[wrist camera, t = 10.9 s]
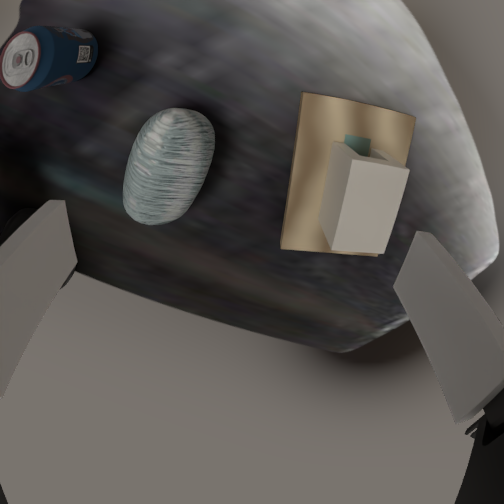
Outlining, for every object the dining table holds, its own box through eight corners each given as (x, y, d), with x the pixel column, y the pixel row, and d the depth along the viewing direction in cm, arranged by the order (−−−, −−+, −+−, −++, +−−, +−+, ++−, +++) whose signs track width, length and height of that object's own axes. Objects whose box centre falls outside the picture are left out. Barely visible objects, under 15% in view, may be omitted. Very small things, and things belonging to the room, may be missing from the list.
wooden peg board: (279, 242, 41) (283, 267, 36) (301, 91, 30) (310, 95, 25) (374, 250, 41) (386, 273, 37) (410, 115, 30) (432, 124, 26)
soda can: (55, 81, 27) (-7, 97, 17) (62, 32, 24) (-1, 32, 14) (98, 81, 28) (39, 93, 18) (107, 28, 24) (49, 20, 14)
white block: (317, 219, 37) (331, 250, 31) (332, 141, 31) (352, 159, 26) (364, 223, 37) (383, 253, 31) (382, 150, 32) (409, 170, 26)
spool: (189, 239, 37) (141, 248, 27) (138, 199, 38) (86, 197, 29) (249, 143, 33) (215, 118, 24) (189, 110, 35) (145, 83, 25)
